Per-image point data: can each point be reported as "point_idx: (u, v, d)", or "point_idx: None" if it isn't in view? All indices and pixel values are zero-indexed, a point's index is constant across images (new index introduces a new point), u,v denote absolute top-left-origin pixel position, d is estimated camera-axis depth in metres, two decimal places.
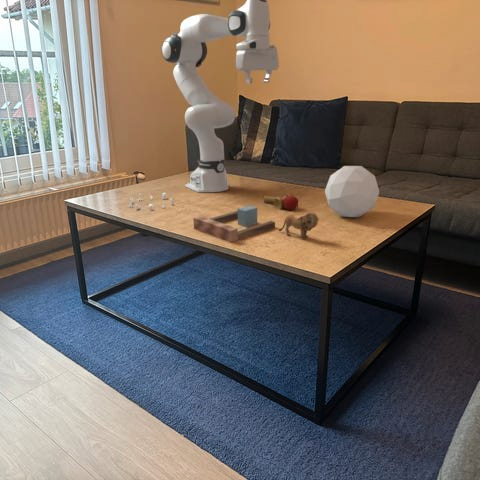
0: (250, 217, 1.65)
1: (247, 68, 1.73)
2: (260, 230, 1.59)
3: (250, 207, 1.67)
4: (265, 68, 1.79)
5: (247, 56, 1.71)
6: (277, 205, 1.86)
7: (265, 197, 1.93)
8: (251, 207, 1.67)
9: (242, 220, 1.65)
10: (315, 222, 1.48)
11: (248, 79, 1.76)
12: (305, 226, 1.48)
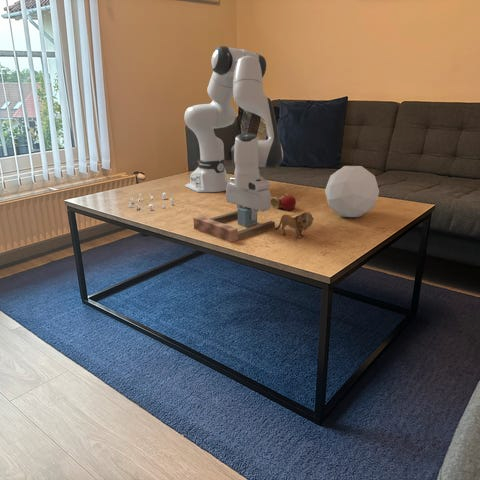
0: None
1: None
2: (260, 230, 1.59)
3: None
4: None
5: None
6: (275, 205, 1.86)
7: None
8: None
9: (242, 220, 1.65)
10: (310, 221, 1.49)
11: (254, 216, 1.64)
12: (300, 225, 1.49)
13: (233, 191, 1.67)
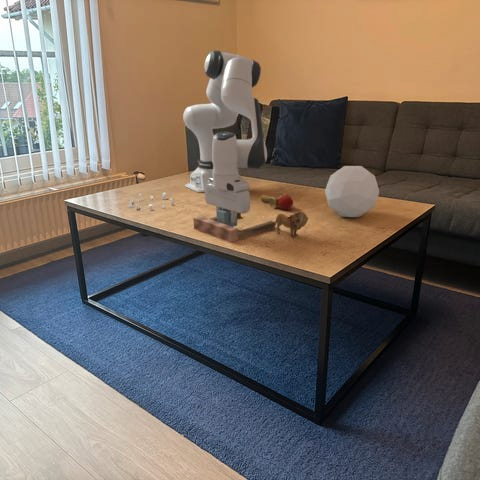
0: None
1: None
2: (260, 230, 1.59)
3: None
4: None
5: None
6: (272, 204, 1.87)
7: (263, 196, 1.94)
8: None
9: (221, 222, 1.58)
10: (304, 221, 1.49)
11: (233, 218, 1.58)
12: (294, 224, 1.50)
13: (212, 192, 1.60)
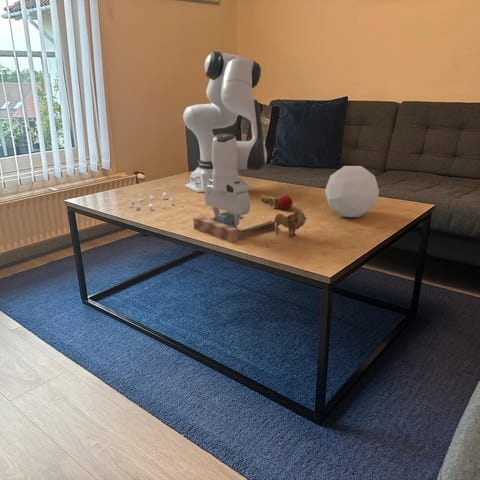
0: (229, 224, 1.59)
1: None
2: (260, 230, 1.59)
3: (229, 213, 1.60)
4: None
5: None
6: (272, 204, 1.87)
7: (262, 196, 1.94)
8: (230, 213, 1.60)
9: None
10: (302, 221, 1.50)
11: (237, 221, 1.56)
12: (293, 224, 1.50)
13: (211, 193, 1.60)
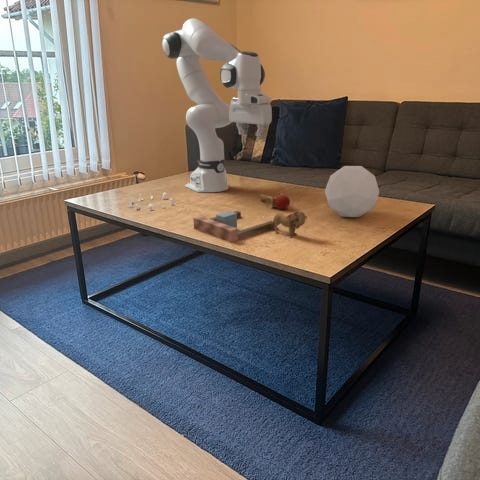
0: (229, 224, 1.59)
1: None
2: (260, 230, 1.59)
3: (229, 213, 1.61)
4: None
5: None
6: (270, 204, 1.87)
7: (261, 196, 1.95)
8: (230, 213, 1.60)
9: None
10: (303, 220, 1.50)
11: (260, 132, 1.73)
12: (293, 223, 1.51)
13: (236, 109, 1.77)
